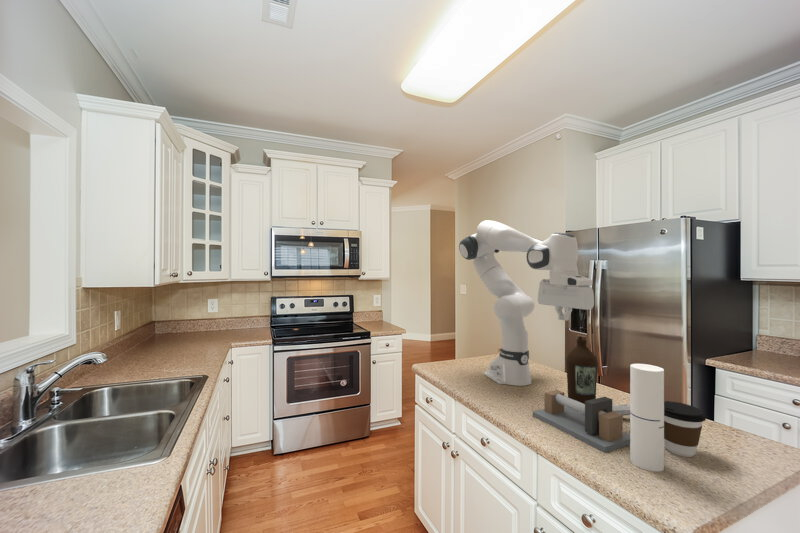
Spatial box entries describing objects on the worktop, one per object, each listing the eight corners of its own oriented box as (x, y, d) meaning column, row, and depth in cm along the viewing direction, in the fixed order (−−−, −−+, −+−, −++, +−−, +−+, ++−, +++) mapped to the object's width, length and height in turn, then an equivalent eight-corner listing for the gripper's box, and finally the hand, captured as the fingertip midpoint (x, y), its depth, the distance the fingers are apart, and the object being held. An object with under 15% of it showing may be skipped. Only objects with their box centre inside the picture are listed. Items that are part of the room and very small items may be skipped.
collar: (584, 431, 103) (584, 401, 103) (604, 425, 107) (604, 396, 107) (592, 434, 101) (592, 404, 101) (612, 428, 105) (612, 399, 105)
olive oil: (562, 395, 138) (562, 333, 138) (590, 397, 136) (590, 333, 136) (571, 406, 127) (571, 338, 127) (602, 407, 125) (602, 339, 126)
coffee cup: (686, 464, 89) (686, 418, 89) (645, 444, 100) (645, 402, 100) (716, 458, 92) (716, 413, 92) (673, 439, 103) (673, 398, 103)
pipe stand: (532, 415, 118) (532, 392, 118) (561, 409, 124) (561, 386, 124) (604, 452, 95) (604, 423, 95) (636, 442, 101) (636, 414, 101)
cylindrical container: (624, 455, 93) (624, 363, 93) (651, 456, 93) (651, 363, 93) (642, 471, 86) (641, 371, 86) (671, 471, 86) (671, 371, 86)
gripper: (533, 278, 126) (533, 316, 126) (583, 280, 107) (583, 325, 107) (546, 278, 129) (546, 315, 129) (597, 280, 110) (597, 323, 110)
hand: (563, 320), depth 118 cm, fingers closed
